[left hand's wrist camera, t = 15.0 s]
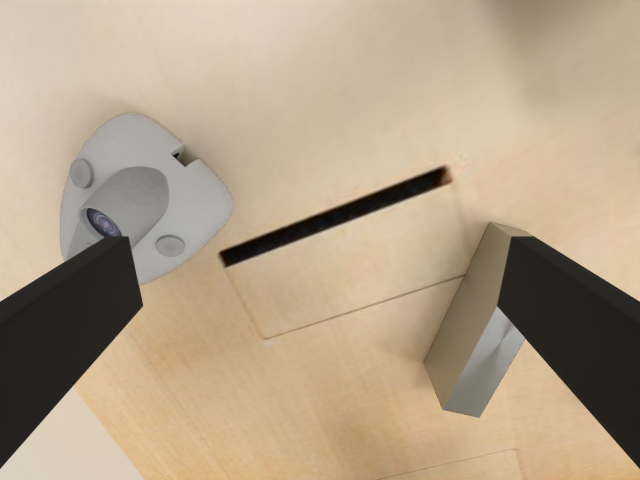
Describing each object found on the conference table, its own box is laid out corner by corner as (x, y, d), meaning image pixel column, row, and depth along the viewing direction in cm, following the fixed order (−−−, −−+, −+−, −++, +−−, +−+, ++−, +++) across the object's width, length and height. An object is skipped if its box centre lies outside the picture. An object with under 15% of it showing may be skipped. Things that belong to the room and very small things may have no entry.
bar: (490, 221, 46) (527, 247, 38) (526, 231, 47) (571, 259, 38) (423, 362, 55) (442, 409, 46) (455, 370, 55) (479, 418, 47)
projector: (35, 117, 41) (-105, 123, 28) (228, 108, 41) (183, 109, 27) (88, 283, 49) (-1, 352, 36) (250, 277, 49) (223, 344, 35)
